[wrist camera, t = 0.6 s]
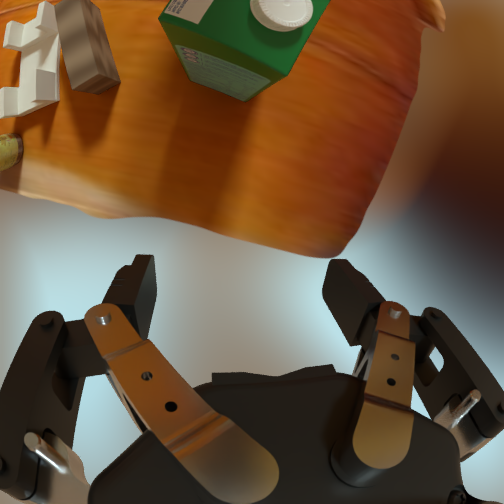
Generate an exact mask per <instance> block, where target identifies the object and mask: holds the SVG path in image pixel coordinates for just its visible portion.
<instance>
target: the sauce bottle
mask: <svg viewBox="0 0 504 504" xmlns="http://www.w3.org/2000/svg"><path fill="white" fill-rule="evenodd" d="M22 153H23V143H22V139H21V138H20V136H19V135H17V134H10V133H9V134H4V135H0V171H2V170H5V169H7V168H10V167H12V166H14V165H16V164H17V163H18V162H19V160H20V158H21V156H22Z"/></svg>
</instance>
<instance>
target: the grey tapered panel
mask: <svg viewBox="0 0 504 504" xmlns="http://www.w3.org/2000/svg"><path fill="white" fill-rule="evenodd" d="M54 9H55V16H56V22H57V28H58V33H59V39H60V43H61V48H62V53H63V57H64V61H65V65H66V69H67V73H68V77H69V80H70V84H71V87H72V90H76V91H82V92H87V93H93V94H98V95H99V94H100V93H102V92H104V91H106V90H108V89H109V88H111V87H113V86H115V85H117V84H119V83H121V81H120V78H119V75H118V72H117V69H116V66H115V62H114V59H113V56H112V53H111V49H110V46H109V42H108V39H107V35H106V32H105V28H104V24H103V21H102V17H101V13H100V9H99V8H98V7H97V6H95V5H94V4H93V3H92V2H91V1H90V0H62V1H61V2H59V3H58V4H56V5H55V6H54Z"/></svg>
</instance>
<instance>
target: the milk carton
mask: <svg viewBox="0 0 504 504" xmlns="http://www.w3.org/2000/svg"><path fill="white" fill-rule="evenodd" d="M329 2H330V0H170V1H169V2H168V4H167V5H166V7H165V8H164V10H163V11H162V13H161V15H160V16H159V18H158V19H159V21H160V23H161V25H162V27H163V29H164V31H165V33H166V35H167V37H168V39H169V41H170V42H171V44H172V46H173V48H174V50H175V52H176V54H177V56H178V58H179V60H180V62H181V64H182V66H183V68H184V70H185V72H186V74H187V76H188V78H189V80H190V81H192V82H195V83H198V84H201V85H204V86H206V87H209V88H212V89H214V90H217V91H219V92H222V93H224V94H227V95H229V96H232V97H234V98H237V99H239V100H241V101H244V102H247V101H248V100H250V99H251V98H253V97H254V96H256V95H257V94H259V93H260V92H262V91H263V90H265V89H267V88H268V87H270V86H271V85H273V84H275V83H276V82H278V81H280V80H281V79H283V78H284V77H286V76H288V74H289V72H290V71H291V69H292V67H293V65H294V63H295V61H296V59H297V58H298V56H299V54H300V52H301V50H302V49H303V47H304V45H305V43H306V41H307V40H308V38H309V36H310V34H311V33H312V31H313V29H314V27H315V26H316V24H317V22H318V20H319V19H320V17H321V15H322V14H323V12H324V10H325V9H326V7H327V5H328V4H329Z"/></svg>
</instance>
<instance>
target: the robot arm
mask: <svg viewBox="0 0 504 504" xmlns="http://www.w3.org/2000/svg"><path fill="white" fill-rule="evenodd" d="M322 295H323V299H324V301H325V303H326V305H327V306H328V308H329V310H330V311H331V313H332V315H333V317H334V318H335V320H336V322H337V324H338V325H339V327H340V329H341V331H342V333H343V334H344V336H345V338H346V340H347V342H348V343H349V345H350V346H357V345H361V346H362V347H361V349H360V352H359V354H358V358H357V361H356V364H355V367H354V370H353V373H352V375H349V374H344V373H338V372H336V371H335V369H334V367H333V365H332V364H329V365H321V366H315V367H314V366H313V367H305V368H303V369H300V370H297V371H294V372H291V373H288V374H285V375H281V376H267V375H260V374H253V373H246V372H236V373H235V372H231V373H212V382H209V383H205V384H202V385H199V386H197V387H195V388H192V387H191V386H190V385H189V384H188V383H187V382H186V381H185V380H184V379H183V378H182V377H181V375H180V374H179V373H178V372H177V371H176V370H175V369H174V368H173V366H172V365H171V364H170V363H169V362H168V361H167V360H166V358H165V357H164V356H163V355H162V354H161V353H160V351H159V350H158V349H157V348H156V347H155V345H154V344H153V343H152V342H151V341H150V340H149V339H147V338H148V333H149V328H150V324H151V319H152V314H153V310H154V306H155V302H156V296H157V284H156V273H155V263H154V256H153V255H140V254H138V255H136V256H135V258H134V261H133V263H132V265H125V266H123V267H122V268H121V269H120V270H118V271H117V273H116V275H115V277H114V280H113V281H112V283H111V286H110V287H109V289H108V291H107V293H106V295H105V297H104V299H103V301H102V303H101V304H99V305H96V306H93V307H92V308H90V309H89V310H88V311H87V313H86V314H85V317H84V319H81V320H75V321H68V322H65V321H64V318H63V316H62V315H61V313H59V312H56V311H46V312H43V313H41V314H39V315H38V316H37V317H35V319H34V320H33V321H32V323H31V325H30V327H29V329H28V330H27V332H26V334H25V336H24V338H23V340H22V342H21V344H20V346H19V348H18V350H17V352H16V354H15V357H14V359H13V361H12V363H11V365H10V368H9V370H8V372H7V375H6V377H5V380H4V382H3V385H2V387H1V390H0V490H2V491H4V492H5V493H7V494H9V495H10V496H11V497H13V498H15V499H16V500H19V501H21V502H23V503H25V504H502V503H499V502H494V501H483V500H480V499H477V498H475V497H473V496H471V495H469V494H468V493H467V491H466V490H465V488H464V485H463V481H462V476H461V468H460V462H463V461H465V460H466V459H467V458H469V457H470V456H472V455H473V454H474V453H476V452H477V451H478V450H479V449H481V448H482V447H483V446H484V445H486V444H487V443H488V442H489V441H491V440H492V439H493V438H494V437H495V436H496V435H497V434H499V433H500V432H501V431H502V430H503V429H504V391H503V389H502V388H501V386H500V385H499V383H498V382H497V380H496V379H495V377H494V376H493V375H492V373H491V372H490V370H489V369H488V367H487V366H486V365H485V363H484V362H483V361H482V359H481V358H480V357H479V356H478V354H477V353H476V351H475V350H474V349H473V348H472V346H471V345H470V344H469V342H468V341H467V340H466V339H465V337H464V336H463V335H462V334H461V332H460V331H459V330H458V329H457V327H456V326H455V325H454V324H453V323H452V322H451V320H450V319H449V318H448V317H447V316H446V315H445V313H443V312H442V311H441V310H439V309H436V308H433V307H427V308H425V309H424V311H423V313H422V315H421V316H413V315H410V314H409V312H408V310H407V309H406V308H405V307H404V306H403V305H401V304H399V303H397V302H393V301H386V300H385V299H384V297H383V296H382V295H381V294H380V293H379V292H378V290H377V289H376V288H375V287H374V286H373V285H372V283H370V282H369V280H368V279H367V278H366V276H365V275H364V274H362V273H361V272H359V271H358V270H356V269H355V268H354V267H353V266H352V265H351V263H350V262H349V261H348V260H346V259H331V260H330V262H329V264H328V268H327V272H326V276H325V280H324V284H323V288H322ZM435 347H436V348H437V349H438V351H439V352H440V354H441V355H442V357H443V359H444V365H443V368H442V369H441V370H440V372H439V371H438V370H437V368H436V367H435V365H434V364H433V362H432V360H431V359H430V357H429V355H430V354H431V352H432V351H433V349H434V348H435ZM102 374H106V376H107V378H108V380H109V382H110V383H111V385H112V387H113V389H114V390H115V392H116V394H117V395H118V397H119V398H120V400H121V402H122V403H123V405H124V406H125V408H126V410H127V411H128V413H129V414H130V416H131V418H132V420H133V421H134V423H135V424H136V426H137V427H138V429H139V430H140V431H141V433H142V435H141V436H140V437H139V438H138V439H137V440H135V442H134V443H132V444H131V445H130V446H129V447H128V448H127V449H126V450H125V451H124V452H123V453H122V454H121V455H120V456H119V457H117V458H116V459H115V460H114V461H113V462H112V463H111V464H110V465H109V466H108V467H107V468H105V469H104V470H103V471H102V472H101V473H100V474H99V475H98V476H97V477H96V478H95V479H94V481H93V482H92V484H91V486H90V485H89V484H88V482H87V480H86V478H85V475H84V467H83V463H82V461H81V459H80V458H79V456H78V455H77V454H76V453H75V452H74V451H72V447H73V440H74V432H75V426H76V421H77V415H78V410H79V405H80V400H81V396H82V390H83V386H84V382H85V378H86V377H88V376H95V375H102ZM413 386H414V387H415V389H416V391H417V393H418V395H419V397H420V398H421V400H422V402H423V404H424V406H425V408H426V410H427V412H428V414H429V416H430V418H431V419H429V418H427V417H425V416H423V415H421V414H420V413H418V412H416V411H414V410H412V409H411V399H412V390H413Z"/></svg>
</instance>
